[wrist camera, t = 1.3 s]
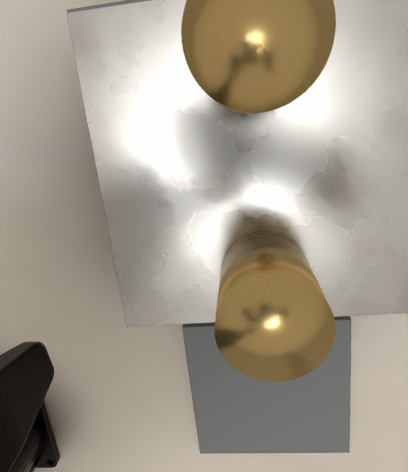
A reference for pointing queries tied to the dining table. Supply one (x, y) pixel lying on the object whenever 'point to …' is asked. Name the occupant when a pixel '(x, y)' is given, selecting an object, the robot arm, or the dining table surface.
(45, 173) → the dining table surface
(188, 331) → the rubber mat
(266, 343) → the cylinder
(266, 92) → the cylinder
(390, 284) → the pan
